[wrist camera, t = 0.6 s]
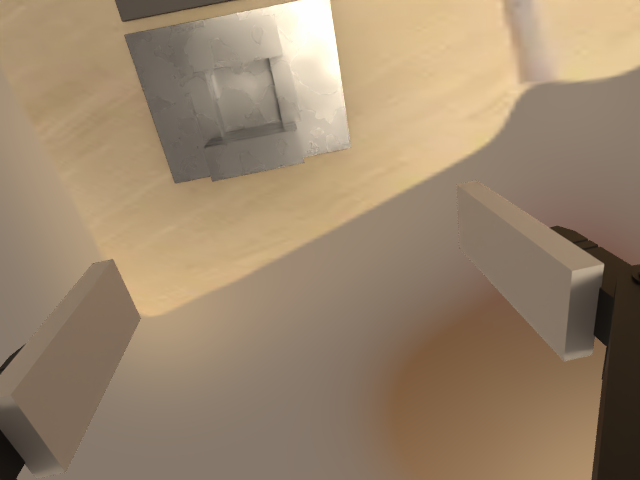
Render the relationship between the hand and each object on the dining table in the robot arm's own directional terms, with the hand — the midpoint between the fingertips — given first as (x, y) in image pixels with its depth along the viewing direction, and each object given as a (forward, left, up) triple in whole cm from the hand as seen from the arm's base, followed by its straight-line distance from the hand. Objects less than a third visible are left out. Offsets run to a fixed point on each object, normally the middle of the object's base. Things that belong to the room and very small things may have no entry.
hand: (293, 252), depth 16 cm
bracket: (-4, -2, -23) cm, 24 cm away
